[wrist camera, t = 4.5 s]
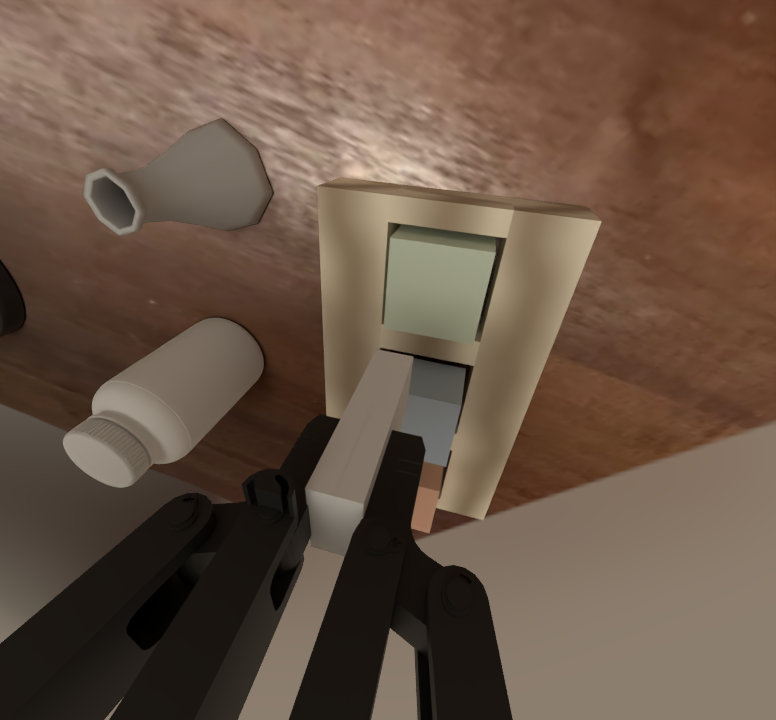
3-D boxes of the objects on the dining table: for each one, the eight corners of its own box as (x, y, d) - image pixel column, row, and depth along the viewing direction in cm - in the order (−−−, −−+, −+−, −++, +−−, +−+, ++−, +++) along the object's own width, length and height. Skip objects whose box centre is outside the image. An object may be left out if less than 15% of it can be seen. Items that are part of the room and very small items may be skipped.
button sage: (397, 302, 27) (383, 327, 24) (405, 221, 24) (390, 237, 20) (476, 316, 26) (473, 344, 23) (495, 233, 23) (495, 252, 20)
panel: (342, 450, 40) (329, 479, 37) (340, 177, 24) (317, 185, 21) (484, 486, 38) (483, 520, 35) (586, 206, 22) (601, 221, 19)
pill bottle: (233, 303, 33) (81, 409, 21) (281, 372, 36) (173, 498, 24) (179, 327, 36) (21, 430, 24) (227, 388, 39) (109, 505, 27)
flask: (290, 197, 26) (199, 231, 18) (231, 245, 30) (132, 292, 22) (222, 95, 24) (80, 82, 16) (166, 161, 27) (26, 178, 19)
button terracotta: (376, 477, 35) (363, 515, 32) (379, 435, 32) (366, 472, 29) (435, 493, 34) (429, 533, 31) (445, 451, 31) (439, 491, 28)
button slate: (381, 411, 30) (367, 447, 27) (386, 352, 27) (370, 385, 23) (451, 426, 29) (446, 466, 26) (465, 368, 26) (461, 405, 23)
